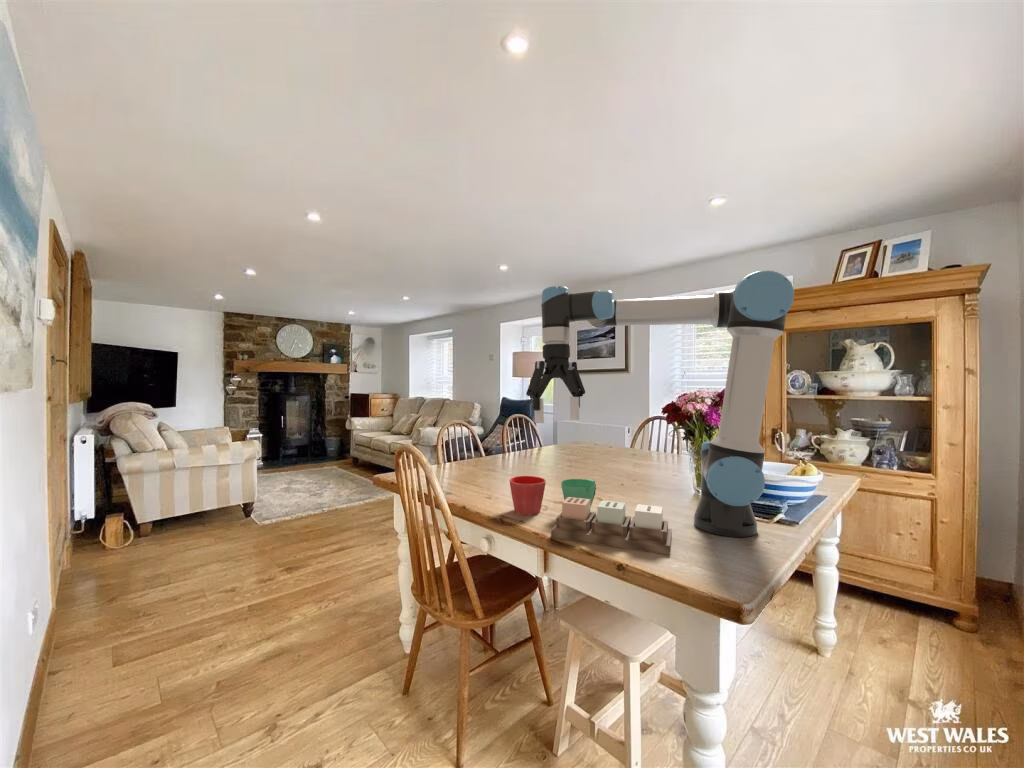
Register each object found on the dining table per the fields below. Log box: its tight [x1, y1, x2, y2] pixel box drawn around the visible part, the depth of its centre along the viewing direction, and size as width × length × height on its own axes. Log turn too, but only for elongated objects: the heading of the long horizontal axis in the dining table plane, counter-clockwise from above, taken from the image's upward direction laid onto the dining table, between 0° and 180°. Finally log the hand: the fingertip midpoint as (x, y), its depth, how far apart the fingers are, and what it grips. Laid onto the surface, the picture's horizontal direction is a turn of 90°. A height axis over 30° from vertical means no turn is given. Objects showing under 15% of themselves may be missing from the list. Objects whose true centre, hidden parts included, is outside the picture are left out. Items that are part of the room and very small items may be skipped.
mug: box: [560, 478, 597, 509], centre depth 124 cm, size 15×10×10 cm
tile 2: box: [596, 500, 626, 525], centre depth 106 cm, size 6×6×4 cm
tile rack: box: [550, 511, 673, 556], centre depth 106 cm, size 28×12×4 cm, turn 68°
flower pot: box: [509, 475, 547, 516], centre depth 127 cm, size 11×11×10 cm
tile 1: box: [634, 503, 664, 530], centre depth 103 cm, size 6×6×4 cm
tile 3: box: [561, 497, 591, 521], centre depth 109 cm, size 6×6×4 cm
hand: (557, 421), depth 116 cm, fingers open, 13 cm apart
